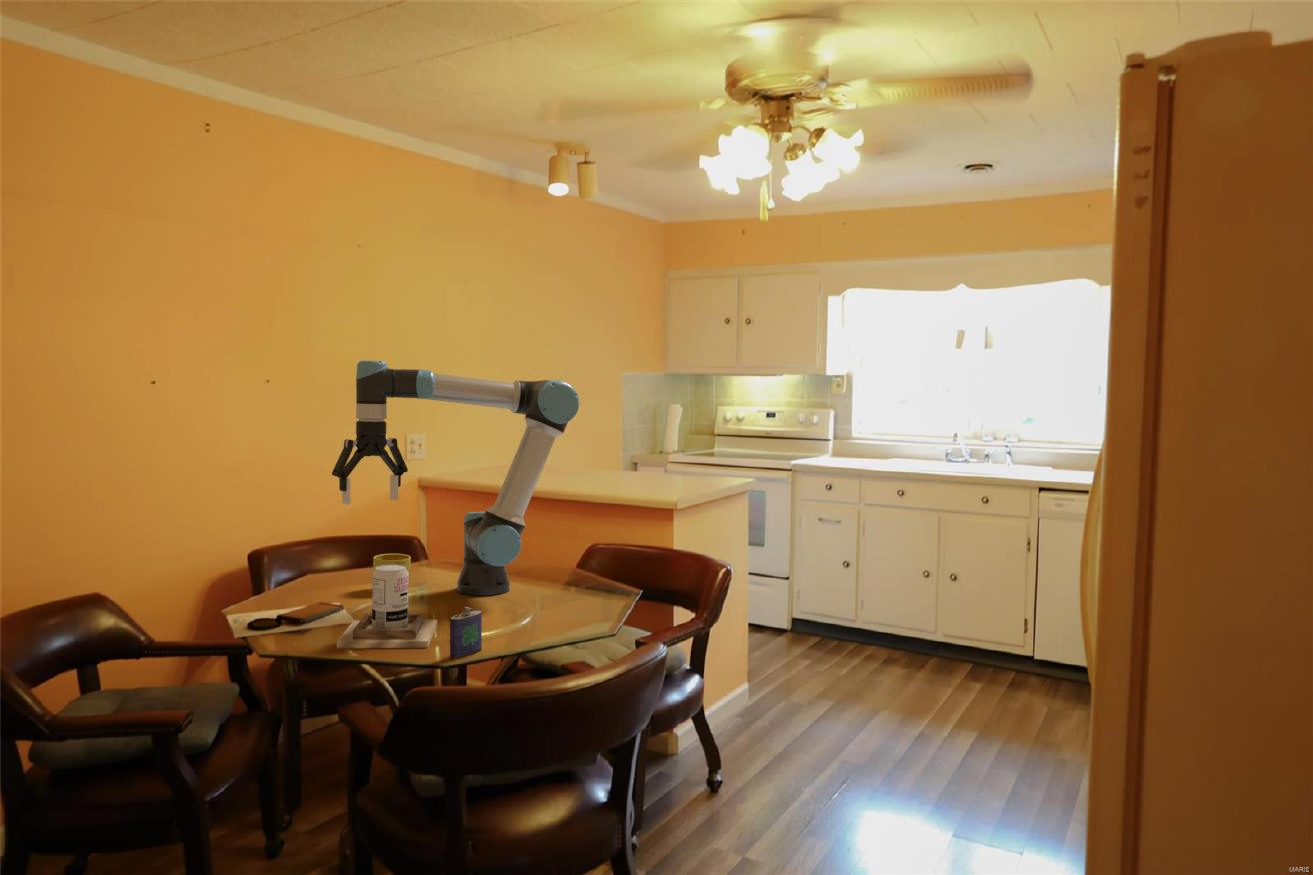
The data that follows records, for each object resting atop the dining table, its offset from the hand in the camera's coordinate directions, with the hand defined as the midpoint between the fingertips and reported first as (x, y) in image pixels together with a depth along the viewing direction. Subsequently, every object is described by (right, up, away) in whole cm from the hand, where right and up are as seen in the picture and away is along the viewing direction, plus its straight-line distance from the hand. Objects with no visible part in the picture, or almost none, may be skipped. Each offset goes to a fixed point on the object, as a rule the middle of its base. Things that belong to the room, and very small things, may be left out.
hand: (370, 501), depth 227 cm
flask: (+32, -32, -32) cm, 55 cm away
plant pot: (-2, -28, +24) cm, 36 cm away
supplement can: (+11, -29, -21) cm, 37 cm away
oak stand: (+11, -30, -21) cm, 38 cm away
